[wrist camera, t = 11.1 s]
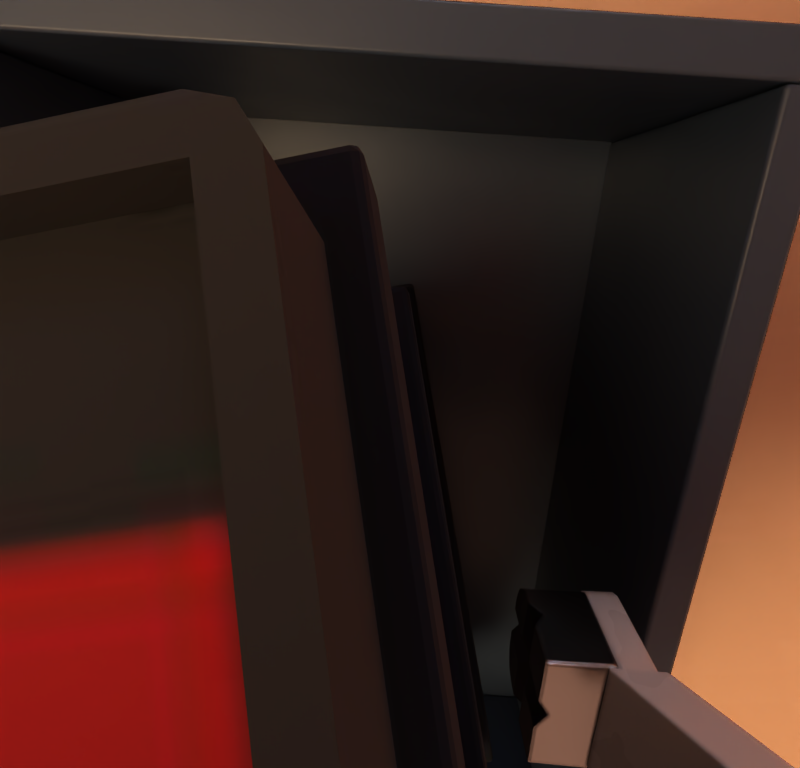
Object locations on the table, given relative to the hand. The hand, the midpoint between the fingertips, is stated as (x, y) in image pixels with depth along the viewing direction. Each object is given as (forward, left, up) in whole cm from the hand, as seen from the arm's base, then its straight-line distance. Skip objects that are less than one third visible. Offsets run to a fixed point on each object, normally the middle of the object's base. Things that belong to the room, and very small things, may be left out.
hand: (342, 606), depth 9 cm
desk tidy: (0, 0, -6) cm, 6 cm away
